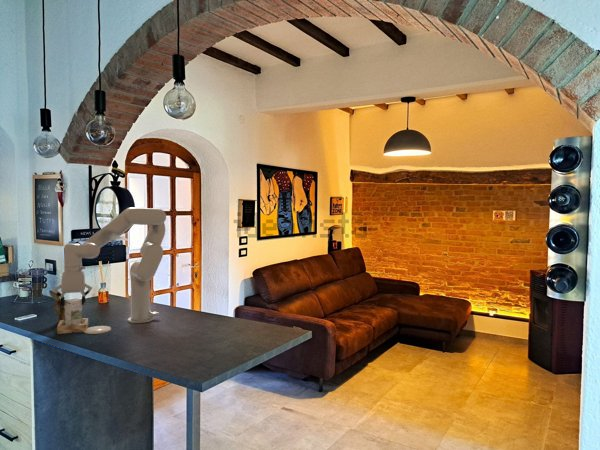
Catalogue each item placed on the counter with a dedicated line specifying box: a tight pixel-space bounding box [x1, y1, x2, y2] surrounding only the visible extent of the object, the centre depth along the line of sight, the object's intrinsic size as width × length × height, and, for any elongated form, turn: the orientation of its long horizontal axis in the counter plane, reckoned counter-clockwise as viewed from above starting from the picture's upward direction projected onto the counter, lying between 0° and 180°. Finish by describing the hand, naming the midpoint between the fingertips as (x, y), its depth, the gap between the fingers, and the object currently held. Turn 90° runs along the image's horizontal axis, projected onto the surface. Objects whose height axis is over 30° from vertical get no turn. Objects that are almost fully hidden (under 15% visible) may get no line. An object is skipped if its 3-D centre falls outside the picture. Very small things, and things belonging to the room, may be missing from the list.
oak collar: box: [56, 317, 89, 335], centre depth 212 cm, size 12×12×4 cm
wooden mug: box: [49, 290, 71, 325], centre depth 222 cm, size 9×14×18 cm, turn 149°
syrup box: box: [64, 298, 83, 325], centre depth 212 cm, size 6×6×14 cm
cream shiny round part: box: [83, 325, 112, 335], centre depth 211 cm, size 12×12×1 cm
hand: (73, 304), depth 212 cm, fingers closed on syrup box, 8 cm apart
